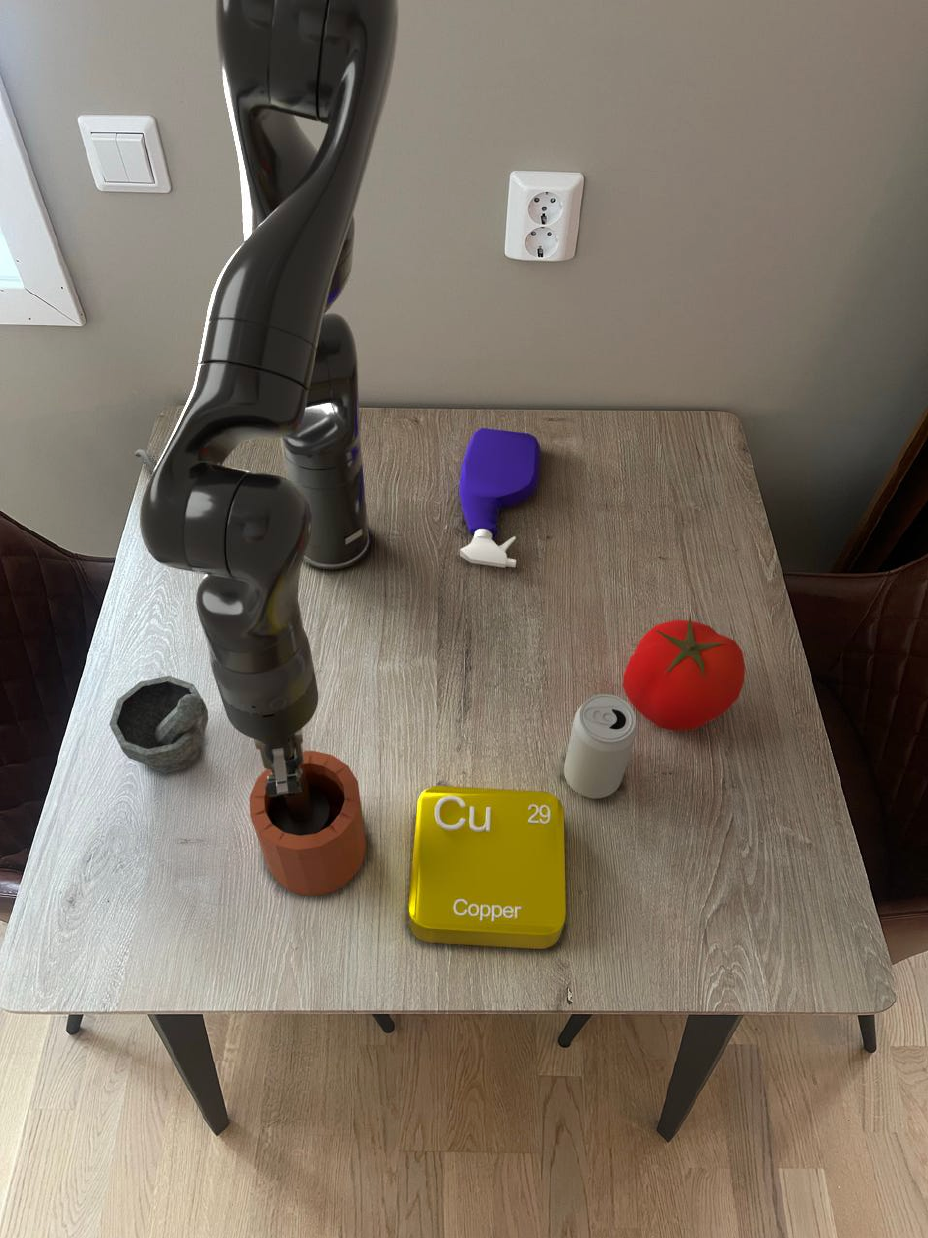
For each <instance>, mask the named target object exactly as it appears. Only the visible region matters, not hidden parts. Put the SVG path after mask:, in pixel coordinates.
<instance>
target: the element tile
mask: <svg viewBox="0 0 928 1238" xmlns="http://www.w3.org/2000/svg"><path fill="white" fill-rule="evenodd" d="M414 825H415V826H414V836H413V847H412V860H411V868H410V880H409V881H410V882H409V892H408V905H407V906H408V907H407V908H408V909H407V910H408V925H409V929H410V931H411V933H412V934H413V936H414V937H415V938H416V939H418V940H420V941H422V942H426V943H429V944H430V943H432V944H449V945H464V946H483V947H499V948H516V949H533V950H534V949H535V950H542V949H548V948H550V947H553V946H554V945H555V944H556V943H558V941H559V939H560V937H561V935H562V932H563V928H564V925H565V922H566V916H567V908H566V907H567V905H566V903H567V902H566V898H567V897H566V855H565V854H566V853H565V851H566V850H565V810H564V807H563V804H562V802H561V800H560V799H559V798H558V797H557V796H556V795H555V794H552V793H549V792H546V791H537V790H522V789H521V790H520V789H506V788H505V789H502V788H486V787H471V786H469V787H467V786H450V785H434V786H431V787H427V788H425V790H423V791H422V792H421V794H420V796H419V798H418V800H417V802H416V814H415V824H414Z"/></svg>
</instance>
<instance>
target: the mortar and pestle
mask: <svg viewBox="0 0 928 1238" xmlns="http://www.w3.org/2000/svg"><path fill="white" fill-rule="evenodd" d="M208 722H209V711H208V708H207V704H206V703H205V701H204V699H203V698H202V696H201V694H200V692H199V690H198V689H197V687H196V685H195V684H194V683H191V682H189V681H185V680H183V679H180V678H177V677H174V676H171V675H166V676H161V677H160V676H159V677H156V678H151V679H146V680H142V681H139V682H137V684H135V685H134V686H133V687H131V688H130V689H129V690H127V692H125V693H124V694H123V695H121V696H120V697H119V698H117V700H116V703H115V706H114V708H113V712H112V715H111V718H110V720H109V723H108V726H109V727H110V729H111V731H112V733H113V735H114V737H115V739H116V741H117V743H118V745H119V747H120V749H121V751H122V753H123V754H124V755H125V756H126V757H127V758H128V759H130V760H132V761H135V762H138V763H140V764H144V765H147V766H149V768H151V769H153V770H156V771H159V772H162V773H166V774H167V773H172V772H175V771H180V770H184V769H185V768H187V766H189V765H190V764H191V763H192V762H193V761H194V760H196V758H198V756H199V751H200V748H201V746H202V744H203V741H204V738H205V735H206V734H205V733H206V730H207V726H208Z"/></svg>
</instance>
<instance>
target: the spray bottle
mask: <svg viewBox="0 0 928 1238" xmlns="http://www.w3.org/2000/svg"><path fill="white" fill-rule="evenodd" d="M541 457H542V456H541V446H540V443H539V442H538V439H537V437H536V436H534V435H532V434H530V433H528V432H521V431H520V432H519V431H511V430H504V429H503V430H502V429H494V428H488V427H487V428H485V427H481V428H479V429H477V430H476V431H475V432H474V433H473V434H472V436H471V438H470V440H469V443H468V445H467V448H466V452H465V455H464V458H463V461H462V464H461V469H460V477H459V483H458V484H459V489H458V490H459V492H458V494H459V499H460V504H461V508H462V513H463V516H464V520H465V523H466V526H467V529H468V532H469V534H470V535H471V536H472V539H471V541H470V542H469V543H468V544H467V545H466V546H464V547H462V548H460V550H459V557H461V558H463V559H464V560H466V561H467V562H469V563H470V564H477V565H484V566H492V567H497V568H506V567H510V568H516V565H517V559H515V558H509V557H508V555H507V550H508V549H509V548H510V546H511V545H512V543H513V542H515V540H516V539H517V537H516V536H514V535H513V536H512V537H510V538H509V539H507V540H506V541H505V542H504V543H502V544H500V545H498V544H496V542H495V541H494V540H493V539H494V538H496V537H497V536H499V530H498V528H497V524H498V523H499V519H498V516H499V510H502V509H503V510H504V509H507V508H510V507H513V506H515V505H518V504H521V503H524V502H525V501H527V500H528V499H530V498H531V496H532V495H533V494H534V493H535V492H536V490H537V487H538V483H539V481H540V472H541V471H540V468H541V459H542V458H541Z"/></svg>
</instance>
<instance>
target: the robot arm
mask: <svg viewBox="0 0 928 1238" xmlns="http://www.w3.org/2000/svg"><path fill="white" fill-rule="evenodd" d="M215 30H216V32H215V34H216V43H217V53H218V61H219V68H220V72H221V73H220V74H221V79H222V85H223V89H224V96H225V99H226V104H227V105H226V106H227V110H228V114H229V115H228V116H229V119H230V124H231V129H232V135H233V139H234V144H235V147H236V148H235V149H236V153H237V154H236V155H237V160H238V167H239V177H240V190H241V205H242V206H241V208H242V209H241V212H242V213H241V214H242V229H243V231H242V232H243V239H244V240H243V242H242V244H240V245H239V247H238V248H237V249H236V250H235V251H234V253H233V254H232V255H231V257H230V258H229V260H228V261H227V263H226V265H225V266H224V268H223V269H222V271H221V273H220V275H219V277H218V278H217V281H216V284H215V286H214V288H213V291H212V293H211V297H210V300H209V301H210V302H209V305H208V309H207V314H206V321H205V327H204V330H203V331H204V332H203V338H202V342H201V343H202V344H201V348H200V351H199V352H200V353H199V358H198V363H197V364H198V366H197V370H196V373H195V374H196V375H195V381H194V384H193V386H192V390H191V392H190V395H189V397H188V399H187V401H186V403H185V406H184V408H183V411H182V412H181V415H180V417H179V419H178V421H177V423H176V426H175V428H174V429H173V432H172V434H171V437H170V438H169V441H168V442H167V444H166V446H165V449H164V450H163V452H162V454H161V456H160V457H159V460H158V461H157V463H156V464H155V463H154V461H153V459H152V458H151V456H150V455H149V454H148V452H146V450H144V449H137V450H136V451H135V452H134V456H135V457H137V458H140V457H141V459H142V460H143V461H144V463H145V465H146V466H147V468H148V469H149V471H151V475H150V477H149V479H148V482H147V484H146V486H145V489H144V491H143V495H142V499H141V503H140V507H139V509H140V510H139V527H140V533H141V537H142V540H143V543H144V546H145V548H146V549H147V551H148V553H149V554H150V555H151V557H152V558H153V559H154V560H155V561H157V563H159V564H161V565H163V566H166V567H168V568H171V569H175V570H180V571H186V572H191V573H196V574H202V575H204V576H203V578H201V581H200V582H199V585H198V587H197V590H196V596H195V599H196V600H195V603H196V604H195V606H196V611H197V616H198V619H199V622H200V625H201V628H202V632H203V635H204V639H205V641H206V644H207V647H208V650H209V662H210V667H211V671H212V675H213V677H214V680H215V684H216V686H217V690H218V693H219V695H220V698H221V702H222V704H223V708H224V711H225V714H226V717H227V719H228V721H229V723H230V725H232V727H233V728H234V729H235V730H237V731H238V732H239V733H241V734H242V735H244V736H246V737H248V738H250V739H253V742H254V746H255V748H256V749H257V750H259V752H260V754H259V755H260V758H261V761H262V766H263V768H264V769H265V770H266V769H270V770H271V775H270V776H267V780H268V781H267V782H266V785H267V786H265V790H266V792H267V793H268V796H272V797H276V796H279V795H281V796H284V798H288V797H295V796H300V794H302V793H303V792H304V783H303V779H302V774H303V770H302V768H301V767H300V764H302V763H303V762H304V756H303V752H304V747H303V743H304V735H303V729H304V727H305V726H306V725H307V724H308V723H309V722H310V721H311V719H312V718H313V717H314V715H315V713H316V710H317V708H318V704H319V689H318V683H317V679H316V672H315V666H314V662H313V661H314V660H313V655H312V650H311V644H310V640H309V638H308V636H307V632H306V630H305V627H304V623H303V618H302V613H301V606H300V603H299V585H300V577H301V571H302V566H303V562H304V561H305V562H306V563H307V564H309V565H311V566H313V567H315V568H318V569H321V570H333V571H334V570H340V569H341V570H342V569H346V568H348V567H351V566H353V565H355V564H356V563H359V561H360V560H361V559H363V558H364V557H365V555H366V554H367V552H368V550H369V547H370V533H369V527H368V515H367V514H368V513H367V501H366V490H365V476H364V464H363V462H364V461H363V452H362V439H361V418H360V388H359V387H360V384H359V383H360V374H359V357H358V352H357V345H356V340H355V337H354V333H353V330H352V328H351V327H350V325H349V323H348V321H347V320H346V319H345V318H344V317H343V316H342V315H340V314H338V313H336V312H328V311H329V309H331V307H332V306H333V305H334V304H335V302H336V301H337V300H338V299H339V298H340V296H341V295H342V294H343V292H344V291H345V289H346V286H347V285H348V282H349V279H350V275H351V272H352V266H353V255H354V243H355V231H356V223H355V222H356V221H355V216H354V212H355V209H356V205H357V203H358V199H359V196H360V192H361V189H362V186H363V183H364V180H365V175H366V172H367V169H368V165H369V161H370V158H371V155H372V151H373V148H374V145H375V142H376V137H377V134H378V130H379V127H380V123H381V120H382V116H383V112H384V108H385V105H386V102H387V97H388V92H389V88H390V84H391V80H392V74H393V69H394V63H395V58H396V51H397V49H396V48H397V40H398V31H399V1H398V0H215ZM296 117H297V118H298V117H299V118H303V119H305V120H306V119H307V120H311V121H314V122H320V123H321V124H325V125H327V126H326V130H325V132H324V136H323V139H322V141H321V144H320V146H319V148H318V150H317V148H316V147H315V145H314V144H313V143H312V141H311V140H310V139H309V137H308V136H307V135H306V133H305V132H304V130H303V129H302V128H301V126H300V125H299V123H298V121H297V119H296ZM327 312H328V313H327ZM268 439H269V440H270V439H280V445H281V450H282V456H283V460H284V462H283V463H284V468H285V472H286V477H283V476H282V475H277V474H274V473H273V474H272V473H268V472H260V471H254V470H249V469H248V470H247V469H242V468H238V467H231V466H225V465H224V463H225V462H226V460H227V459H228V457H229V456H230V455H231V453H232V452H233V451H234V450H235V449H236V448H237V447H238V446H239V445H241V444H242V443H246V442H250V441H255V440H268ZM294 744H295V746H294Z"/></svg>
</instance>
